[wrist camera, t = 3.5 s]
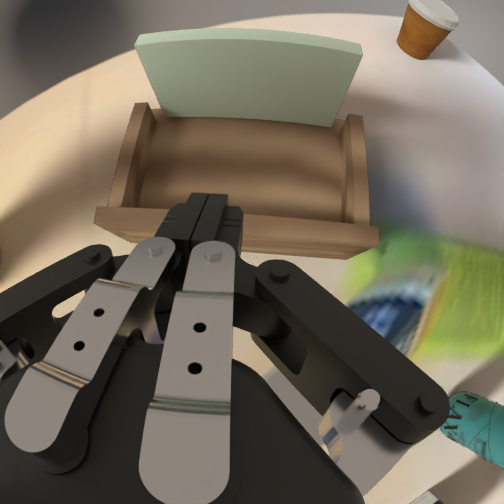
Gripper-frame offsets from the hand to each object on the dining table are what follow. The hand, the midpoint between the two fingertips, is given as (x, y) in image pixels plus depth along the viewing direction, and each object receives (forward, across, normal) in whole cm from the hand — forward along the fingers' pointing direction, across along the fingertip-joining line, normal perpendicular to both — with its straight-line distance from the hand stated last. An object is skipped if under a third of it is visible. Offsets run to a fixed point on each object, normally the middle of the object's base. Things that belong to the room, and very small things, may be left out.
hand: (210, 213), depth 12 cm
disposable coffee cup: (+43, -28, -16) cm, 54 cm away
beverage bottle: (+1, -30, +26) cm, 40 cm away
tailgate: (+24, 0, -1) cm, 24 cm away
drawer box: (+20, 0, +7) cm, 22 cm away
